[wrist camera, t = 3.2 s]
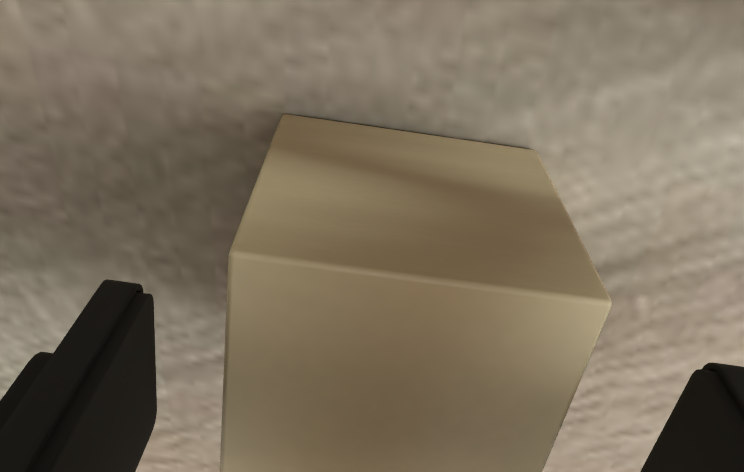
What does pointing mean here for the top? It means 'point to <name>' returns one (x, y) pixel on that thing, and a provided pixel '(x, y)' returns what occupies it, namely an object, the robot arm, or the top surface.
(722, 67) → the top surface
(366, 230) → the toy block
